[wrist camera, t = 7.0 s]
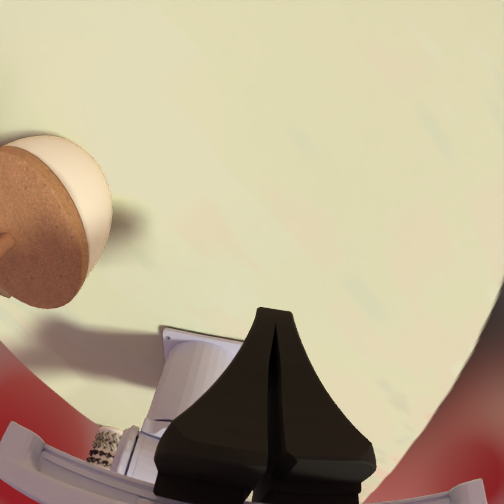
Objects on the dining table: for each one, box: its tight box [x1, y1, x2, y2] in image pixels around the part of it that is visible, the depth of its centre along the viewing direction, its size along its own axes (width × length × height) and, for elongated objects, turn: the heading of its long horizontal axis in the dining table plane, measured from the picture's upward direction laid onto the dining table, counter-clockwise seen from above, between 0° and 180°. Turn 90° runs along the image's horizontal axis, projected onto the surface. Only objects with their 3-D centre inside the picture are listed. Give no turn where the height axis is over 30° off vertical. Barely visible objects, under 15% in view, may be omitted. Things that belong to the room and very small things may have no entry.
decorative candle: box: [87, 426, 124, 470], centre depth 34 cm, size 9×9×25 cm
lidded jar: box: [0, 135, 113, 309], centre depth 18 cm, size 11×11×9 cm
